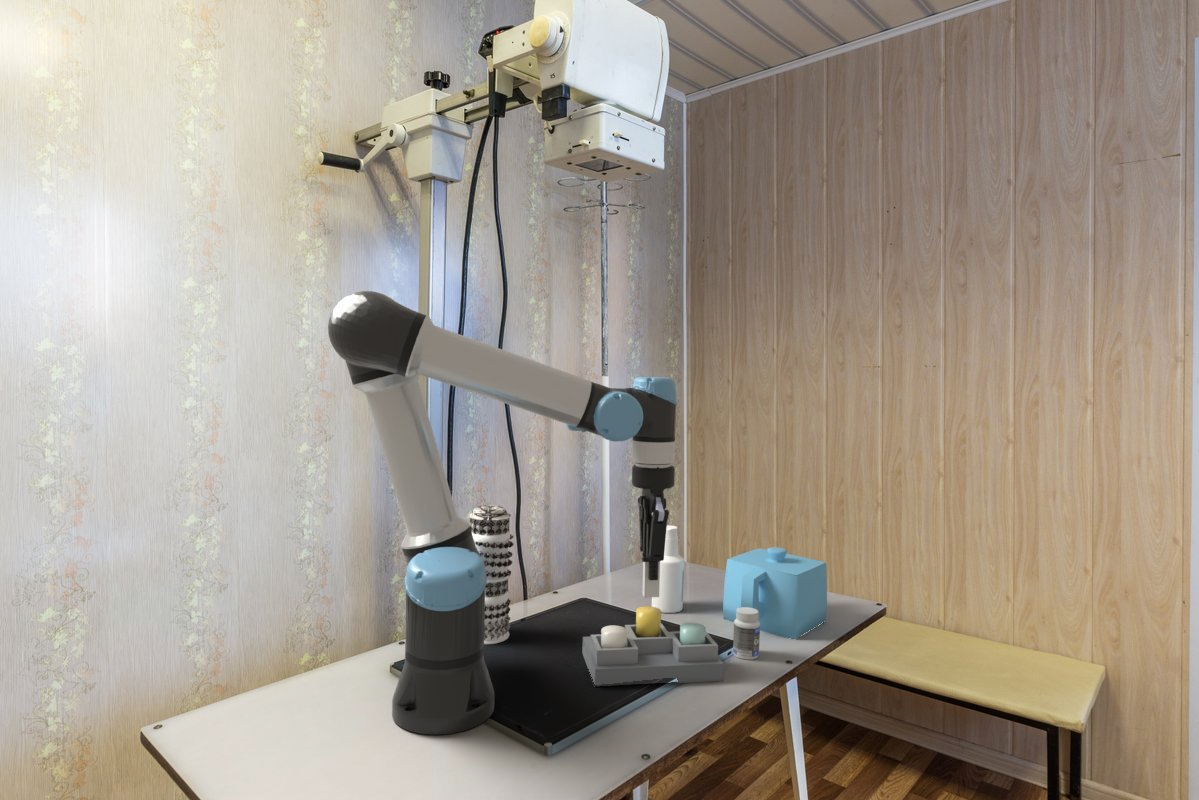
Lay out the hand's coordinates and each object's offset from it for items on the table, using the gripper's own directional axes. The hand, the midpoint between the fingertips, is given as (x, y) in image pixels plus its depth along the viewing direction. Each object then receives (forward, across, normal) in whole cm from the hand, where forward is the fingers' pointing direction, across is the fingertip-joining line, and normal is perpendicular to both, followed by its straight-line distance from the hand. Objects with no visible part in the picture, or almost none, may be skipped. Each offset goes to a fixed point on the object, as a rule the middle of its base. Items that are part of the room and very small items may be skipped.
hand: (650, 595), depth 128 cm
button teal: (+9, -4, -7) cm, 11 cm away
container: (+13, +18, -32) cm, 39 cm away
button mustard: (+7, 0, 0) cm, 7 cm away
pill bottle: (+12, +1, -19) cm, 22 cm away
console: (+12, -2, 0) cm, 12 cm away
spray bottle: (+12, +27, -10) cm, 32 cm away
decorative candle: (+12, +15, +28) cm, 34 cm away
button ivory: (+8, -4, +7) cm, 12 cm away
